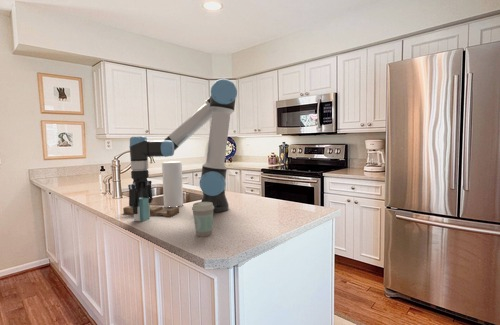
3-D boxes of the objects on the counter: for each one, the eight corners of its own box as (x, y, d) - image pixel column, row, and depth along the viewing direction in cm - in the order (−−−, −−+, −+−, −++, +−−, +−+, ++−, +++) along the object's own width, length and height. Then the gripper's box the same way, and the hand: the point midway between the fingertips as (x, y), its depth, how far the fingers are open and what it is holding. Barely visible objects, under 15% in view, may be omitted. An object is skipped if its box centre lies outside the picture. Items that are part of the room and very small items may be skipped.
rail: (179, 212, 141) (178, 190, 140) (171, 216, 134) (170, 193, 134) (132, 210, 149) (131, 189, 148) (123, 213, 142) (122, 191, 141)
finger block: (149, 218, 131) (148, 197, 131) (144, 221, 128) (142, 199, 127) (139, 218, 133) (138, 197, 132) (134, 220, 129) (132, 199, 128)
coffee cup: (194, 231, 111) (193, 201, 110) (215, 230, 112) (214, 200, 111) (191, 238, 103) (190, 206, 102) (214, 237, 103) (213, 205, 102)
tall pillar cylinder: (186, 203, 163) (184, 161, 161) (178, 207, 152) (176, 162, 150) (169, 203, 165) (167, 161, 163) (160, 207, 154) (158, 162, 152)
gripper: (146, 167, 139) (148, 213, 141) (117, 172, 120) (120, 224, 122) (159, 167, 137) (161, 213, 138) (132, 172, 118) (135, 225, 120)
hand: (142, 218), depth 130 cm, fingers open, 6 cm apart
